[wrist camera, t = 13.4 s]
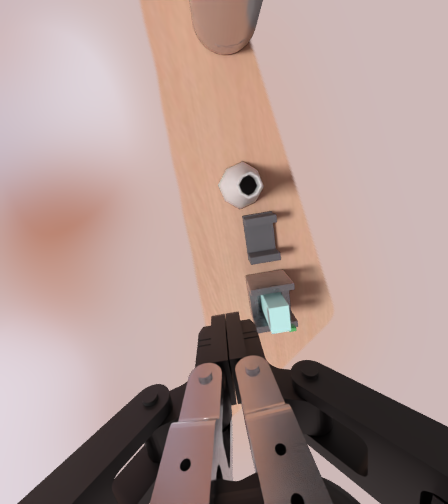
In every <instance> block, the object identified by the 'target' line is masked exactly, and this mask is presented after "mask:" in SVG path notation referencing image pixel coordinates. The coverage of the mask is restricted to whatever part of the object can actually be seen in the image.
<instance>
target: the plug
mask: <svg viewBox="0 0 448 504" xmlns="http://www.w3.org/2000/svg"><path fill="white" fill-rule="evenodd" d="M260 298H261V306H262V310H263V312H264V315H265V318H266V320H267V323H268V325H269V328H270V330H271V333H272V334H275V333H281V332H287V331H291V323H290V313H289V305H288V303H287V302H286V300H285V299H284V297H283V295H282V294H281V292H277V293H271V294H265V295H260Z"/></svg>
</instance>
